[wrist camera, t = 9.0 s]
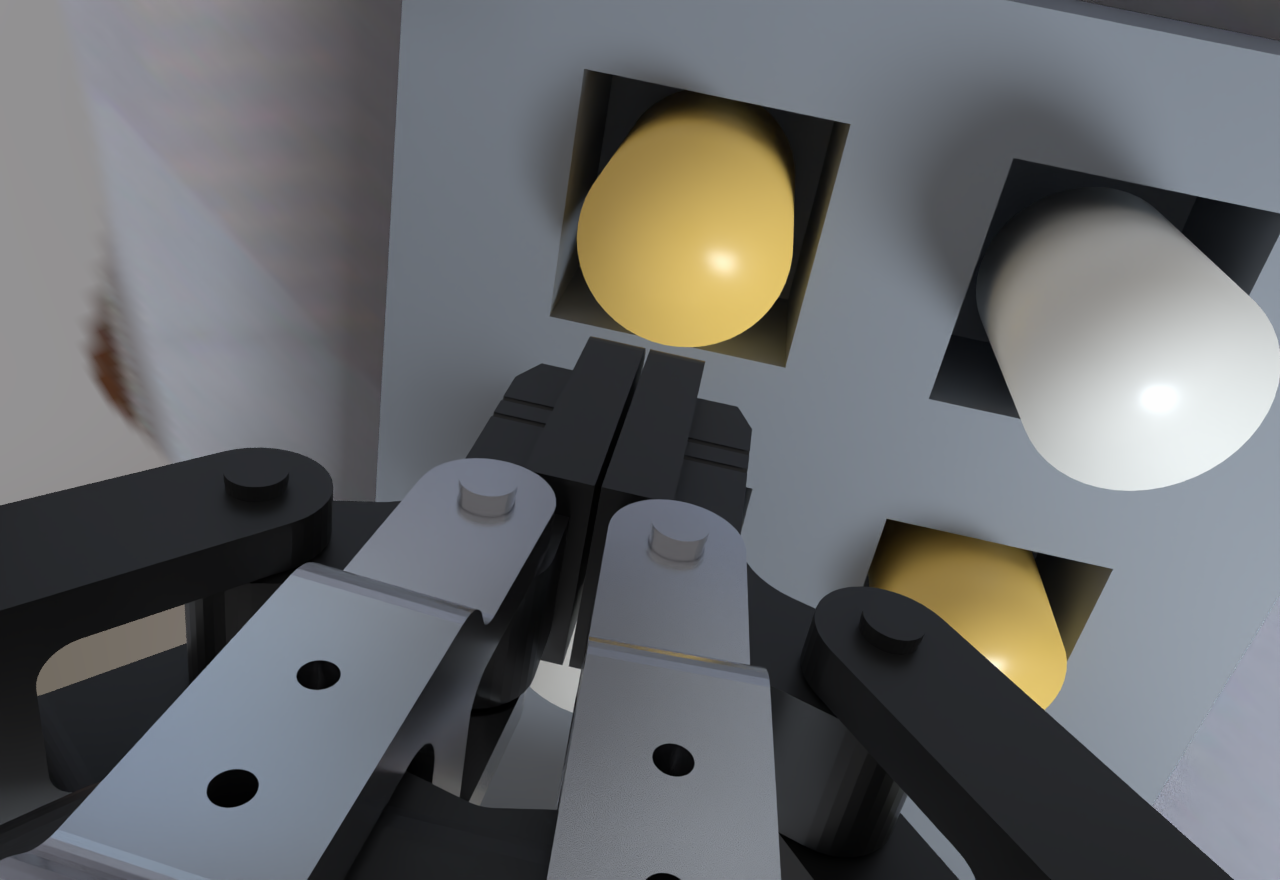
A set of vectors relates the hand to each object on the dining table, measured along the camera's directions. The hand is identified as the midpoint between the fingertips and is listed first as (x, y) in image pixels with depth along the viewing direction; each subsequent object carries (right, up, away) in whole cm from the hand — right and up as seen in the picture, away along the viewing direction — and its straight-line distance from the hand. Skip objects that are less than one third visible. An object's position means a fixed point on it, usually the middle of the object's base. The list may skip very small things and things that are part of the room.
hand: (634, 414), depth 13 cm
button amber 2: (+2, +6, +10) cm, 12 cm away
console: (+4, -1, +14) cm, 15 cm away
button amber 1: (+8, -3, +14) cm, 16 cm away
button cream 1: (+9, +3, +8) cm, 12 cm away
